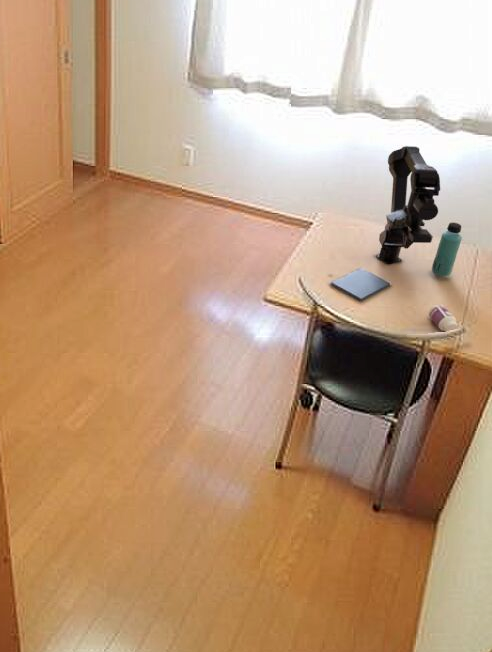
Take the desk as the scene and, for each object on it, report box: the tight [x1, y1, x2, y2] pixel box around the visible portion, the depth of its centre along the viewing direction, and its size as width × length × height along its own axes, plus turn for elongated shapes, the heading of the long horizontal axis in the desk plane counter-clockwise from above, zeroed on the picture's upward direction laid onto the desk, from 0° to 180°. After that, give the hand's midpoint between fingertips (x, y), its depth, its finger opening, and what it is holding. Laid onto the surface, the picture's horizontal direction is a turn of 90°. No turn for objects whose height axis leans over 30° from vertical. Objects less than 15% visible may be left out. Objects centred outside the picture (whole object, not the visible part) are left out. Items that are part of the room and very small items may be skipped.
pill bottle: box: [428, 304, 459, 332], centre depth 198 cm, size 5×5×10 cm
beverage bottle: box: [431, 222, 463, 277], centre depth 220 cm, size 6×7×20 cm
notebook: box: [330, 267, 391, 302], centre depth 218 cm, size 16×12×1 cm
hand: (405, 248), depth 217 cm, fingers closed
